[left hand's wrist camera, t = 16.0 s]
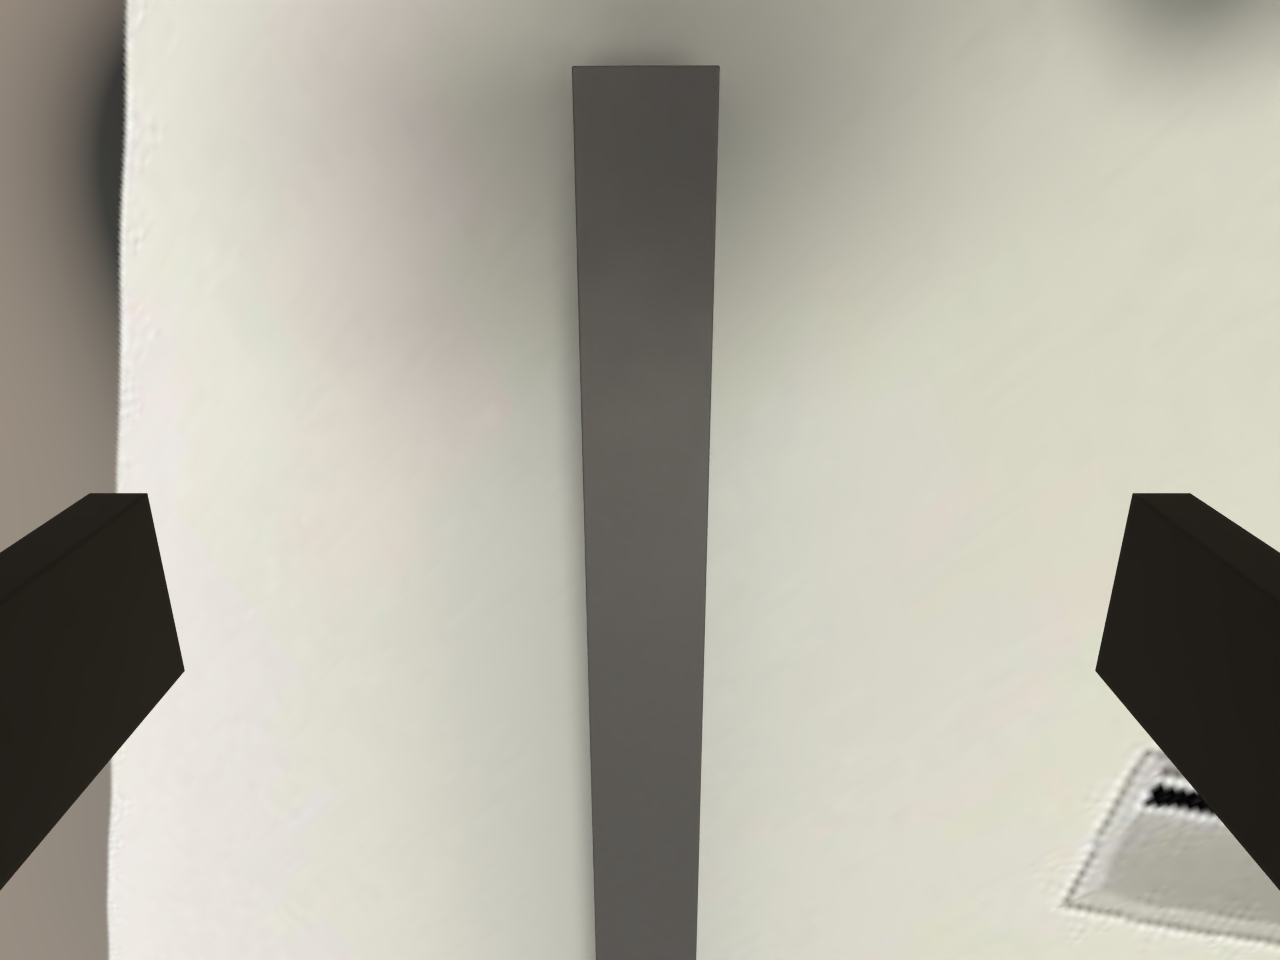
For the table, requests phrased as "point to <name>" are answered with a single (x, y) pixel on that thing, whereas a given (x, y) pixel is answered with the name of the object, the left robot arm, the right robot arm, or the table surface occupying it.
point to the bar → (645, 484)
